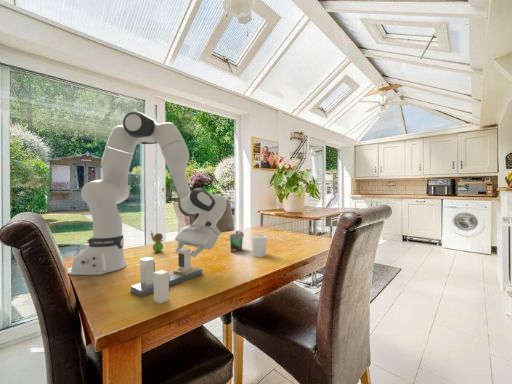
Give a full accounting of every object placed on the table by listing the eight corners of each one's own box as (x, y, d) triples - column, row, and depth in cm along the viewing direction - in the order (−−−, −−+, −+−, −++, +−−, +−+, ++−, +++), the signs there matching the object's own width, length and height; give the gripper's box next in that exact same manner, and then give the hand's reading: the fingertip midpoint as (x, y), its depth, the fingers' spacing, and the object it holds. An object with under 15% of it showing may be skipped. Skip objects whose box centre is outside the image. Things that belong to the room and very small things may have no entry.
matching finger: (183, 273, 95) (183, 250, 95) (177, 272, 97) (177, 249, 97) (190, 271, 98) (190, 249, 97) (185, 269, 100) (185, 247, 99)
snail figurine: (151, 251, 137) (150, 230, 137) (163, 250, 139) (163, 229, 139) (150, 253, 132) (150, 231, 131) (163, 252, 134) (163, 230, 134)
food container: (240, 253, 131) (240, 235, 131) (229, 253, 133) (229, 234, 132) (246, 248, 143) (246, 231, 143) (236, 247, 145) (236, 230, 145)
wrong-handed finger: (160, 303, 75) (160, 274, 74) (153, 300, 77) (153, 272, 76) (170, 299, 77) (170, 271, 77) (163, 296, 79) (163, 269, 79)
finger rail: (141, 297, 79) (141, 263, 79) (130, 291, 83) (130, 259, 83) (202, 274, 100) (202, 247, 100) (191, 270, 104) (191, 245, 104)
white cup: (258, 252, 133) (258, 234, 133) (270, 255, 128) (270, 236, 128) (249, 255, 127) (248, 236, 127) (260, 258, 122) (260, 238, 122)
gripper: (183, 220, 109) (164, 246, 101) (216, 224, 97) (197, 253, 89) (191, 228, 113) (173, 254, 105) (224, 233, 101) (206, 262, 93)
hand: (184, 254), depth 97 cm, fingers open, 8 cm apart
